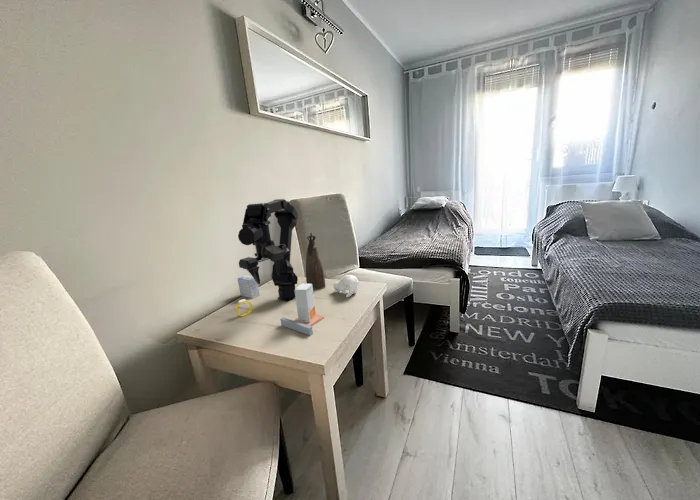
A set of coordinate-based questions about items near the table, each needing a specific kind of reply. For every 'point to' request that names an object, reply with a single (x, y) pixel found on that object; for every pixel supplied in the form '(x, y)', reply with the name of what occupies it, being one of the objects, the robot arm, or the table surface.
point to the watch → (242, 303)
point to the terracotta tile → (313, 321)
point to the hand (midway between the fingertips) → (269, 279)
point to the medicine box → (248, 286)
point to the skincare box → (305, 303)
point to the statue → (314, 266)
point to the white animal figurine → (347, 285)
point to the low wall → (296, 326)
